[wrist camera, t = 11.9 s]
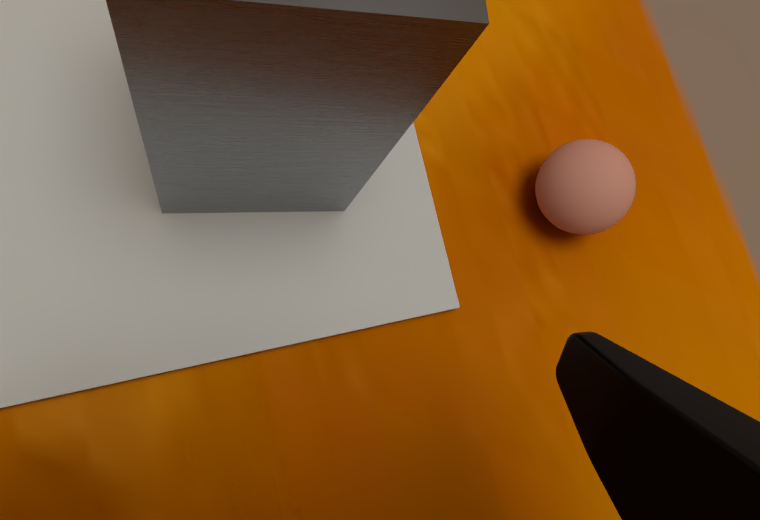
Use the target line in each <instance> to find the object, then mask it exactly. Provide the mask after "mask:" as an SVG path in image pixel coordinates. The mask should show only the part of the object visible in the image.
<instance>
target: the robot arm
mask: <svg viewBox="0 0 760 520" xmlns="http://www.w3.org/2000/svg"><path fill="white" fill-rule="evenodd" d="M556 378H557V382H558V384H559V387H560V389H561V392H562V394H563V397H564V399H565V401H566V404H567V406H568V409H569V411H570V413H571V416H572V418H573V421H574V423H575V426H576V428H577V430H578V433H579V435H580V438H581V440H582V443H583V445H584V447H585V449H586V452H587V454H588V456H589V458H590V460H591V462H592V464H593V466H594V468H595V470H596V472H597V474H598V476H599V478H600V480H601V481H602V483H603V485H604V487H605V489H606V491H607V493H608V495H609V496H610V498H611V500H612V502H613V504H614V506H615V508H616V510H617V511H618V513H619V515H620V517H621V519H622V520H760V422H759V421H757V420H755V419H753V418H751V417H750V416H748V415H746V414H744V413H742V412H740V411H739V410H737V409H735V408H733V407H731V406H729V405H728V404H726V403H724V402H722V401H720V400H718V399H717V398H715V397H713V396H711V395H709V394H707V393H706V392H704V391H702V390H700V389H698V388H696V387H695V386H693V385H691V384H689V383H687V382H685V381H683V380H682V379H680V378H678V377H676V376H674V375H672V374H671V373H669V372H667V371H665V370H663V369H661V368H660V367H658V366H656V365H654V364H652V363H650V362H649V361H647V360H645V359H643V358H641V357H639V356H638V355H636V354H634V353H632V352H630V351H628V350H627V349H625V348H623V347H621V346H619V345H617V344H615V343H614V342H612V341H610V340H608V339H606V338H604V337H603V336H601V335H599V334H597V333H595V332H580V333H573V334H571V335H570V336H569V337H568V339H567V341H566V344H565V346H564V349H563V351H562V354H561V356H560V359H559V362H558V364H557V367H556Z"/></svg>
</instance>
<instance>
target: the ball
mask: <svg viewBox="0 0 760 520" xmlns="http://www.w3.org/2000/svg"><path fill="white" fill-rule="evenodd" d="M635 190H636V180H635V174H634V170H633V168H632V166H631V164H630V162H629V160H628V159H627V157H626V156H625V155H624V154H623V153H622V152H621V151H620V150H618V149H617V148H616V147H614V146H613V145H611V144H609V143H606V142H603V141H600V140H594V139H581V140H575V141H572V142H569V143H566V144H564V145H562V146H561V147H559V148H557V149H556V150H555V151H553V152H552V153H551V154H550V155H549V156H548V157H547V158H546V160H545V161H544V162H543V164H542V165H541V167H540V170H539V172H538V175H537V178H536V184H535V193H536V199H537V203H538V206H539V208H540V210H541V212H542V213H543V215H544V216H545V217H546V218H547V220H548V221H549V222H551V223H552V224H553V225H554V226H556V227H557V228H559V229H561V230H563V231H566V232H569V233H573V234H580V235H586V234H594V233H598V232H601V231H604V230H606V229H608V228H610V227H612V226H613V225H615V224H616V223H617V222H619V221H620V220H621V219H622V218H623V217H624V215H625V214H626V213H627V212H628V210H629V208H630V206H631V204H632V202H633V199H634V195H635Z"/></svg>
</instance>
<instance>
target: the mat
mask: <svg viewBox="0 0 760 520" xmlns="http://www.w3.org/2000/svg"><path fill="white" fill-rule="evenodd" d="M459 307H460V306H459V302H458V298H457V294H456V290H455V286H454V282H453V278H452V274H451V270H450V266H449V262H448V258H447V254H446V250H445V246H444V242H443V238H442V234H441V230H440V226H439V222H438V218H437V214H436V210H435V206H434V202H433V198H432V194H431V190H430V186H429V182H428V178H427V174H426V170H425V166H424V162H423V158H422V154H421V150H420V146H419V142H418V139H417V135H416V131H415V127H414V123H412V124H411V125H410V127H409V128H408V129H407V131H406V132H405V133H404V135H403V136H402V137H401V138H400V140H399V141H398V142H397V144H396V145H395V146H394V148H393V149H392V150H391V151H390V153H389V154H388V155H387V157H386V158H385V159H384V161H383V162H382V163H381V164H380V166H379V167H378V168H377V170H376V171H375V172H374V174H373V175H372V176H371V177H370V179H369V180H368V181H367V183H366V184H365V185H364V186H363V188H362V189H361V190H360V192H359V193H358V194H357V196H356V197H355V198H354V199H353V201H352V202H351V203H350V205H349V206H348V207H347V209H346V210H345V211H316V212H239V213H162V212H161V208H160V204H159V200H158V197H157V193H156V189H155V185H154V181H153V178H152V174H151V170H150V166H149V163H148V159H147V155H146V151H145V147H144V144H143V140H142V136H141V132H140V128H139V125H138V121H137V117H136V113H135V109H134V106H133V102H132V98H131V94H130V90H129V87H128V83H127V79H126V75H125V71H124V68H123V64H122V60H121V56H120V52H119V49H118V45H117V41H116V37H115V33H114V30H113V26H112V22H111V18H110V15H109V11H108V7H107V3H106V0H0V409H1V408H5V407H10V406H14V405H19V404H23V403H28V402H33V401H37V400H42V399H46V398H51V397H55V396H60V395H65V394H69V393H74V392H78V391H83V390H87V389H92V388H96V387H101V386H106V385H110V384H115V383H119V382H124V381H128V380H133V379H138V378H142V377H147V376H151V375H156V374H160V373H165V372H169V371H174V370H179V369H183V368H188V367H192V366H197V365H201V364H206V363H211V362H215V361H220V360H224V359H229V358H233V357H238V356H242V355H247V354H252V353H256V352H261V351H265V350H270V349H274V348H279V347H283V346H288V345H293V344H297V343H302V342H306V341H311V340H315V339H320V338H325V337H329V336H334V335H338V334H343V333H347V332H352V331H356V330H361V329H366V328H370V327H375V326H379V325H384V324H388V323H393V322H398V321H402V320H407V319H411V318H416V317H420V316H425V315H429V314H434V313H439V312H443V311H448V310H452V309H456V308H459Z"/></svg>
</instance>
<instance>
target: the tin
mask: <svg viewBox="0 0 760 520" xmlns="http://www.w3.org/2000/svg"><path fill="white" fill-rule="evenodd" d="M106 3H107V7H108V11H109V15H110V18H111V22H112V26H113V30H114V33H115V37H116V41H117V45H118V49H119V52H120V56H121V60H122V64H123V68H124V71H125V75H126V79H127V83H128V87H129V90H130V94H131V98H132V102H133V106H134V109H135V113H136V117H137V121H138V125H139V128H140V132H141V136H142V140H143V144H144V147H145V151H146V155H147V159H148V163H149V166H150V170H151V174H152V178H153V181H154V185H155V189H156V193H157V197H158V200H159V204H160V208H161V212H162V213H239V212H316V211H345V210H346V209H347V207H348V206H349V205H350V203H351V202H352V201H353V199H354V198H355V197H356V196H357V194H358V193H359V192H360V190H361V189H362V188H363V186H364V185H365V184H366V183H367V181H368V180H369V179H370V177H371V176H372V175H373V174H374V172H375V171H376V170H377V168H378V167H379V166H380V164H381V163H382V162H383V161H384V159H385V158H386V157H387V155H388V154H389V153H390V151H391V150H392V149H393V148H394V146H395V145H396V144H397V142H398V141H399V140H400V138H401V137H402V136H403V135H404V133H405V132H406V131H407V129H408V128H409V127H410V125H411V124H412V123H413V122H414V120H415V119H416V118H417V116H418V115H419V114H420V112H421V111H422V110H423V109H424V107H425V106H426V105H427V103H428V102H429V101H430V100H431V98H432V97H433V96H434V94H435V93H436V92H437V90H438V89H439V88H440V87H441V85H442V84H443V83H444V81H445V80H446V79H447V77H448V76H449V75H450V74H451V72H452V71H453V70H454V68H455V67H456V66H457V64H458V63H459V62H460V61H461V59H462V58H463V57H464V55H465V54H466V53H467V51H468V50H469V49H470V48H471V46H472V45H473V44H474V42H475V41H476V40H477V39H478V37H479V36H480V35H481V33H482V32H483V31H484V29H485V28H486V27H487V26H488V24H489V20H488V13H487V7H486V0H106Z"/></svg>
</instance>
